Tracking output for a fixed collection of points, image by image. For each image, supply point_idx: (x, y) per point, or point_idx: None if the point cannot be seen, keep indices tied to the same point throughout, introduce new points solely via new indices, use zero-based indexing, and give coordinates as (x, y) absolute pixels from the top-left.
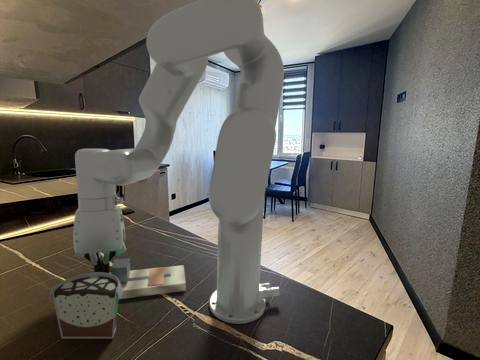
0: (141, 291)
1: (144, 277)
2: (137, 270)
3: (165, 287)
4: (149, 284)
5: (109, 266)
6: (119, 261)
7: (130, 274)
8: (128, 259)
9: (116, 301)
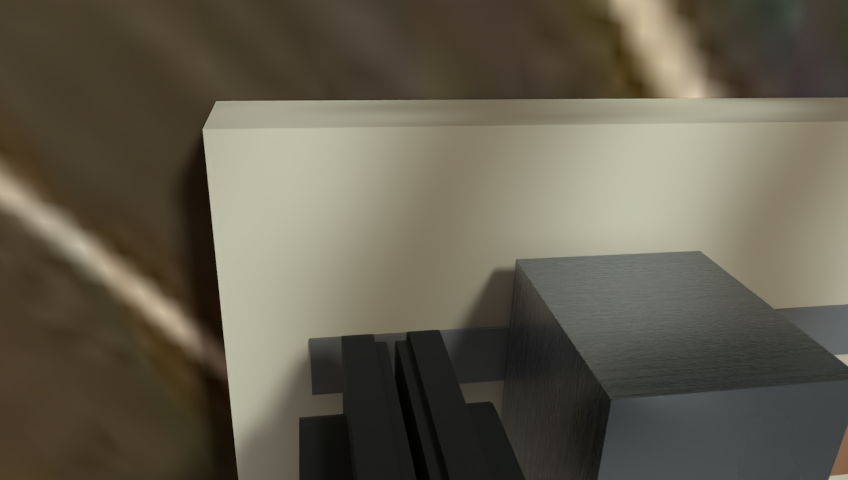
0: None
1: (824, 328)
2: (779, 140)
3: None
4: (840, 461)
5: (514, 470)
6: (693, 470)
7: (686, 229)
8: (836, 413)
9: None
